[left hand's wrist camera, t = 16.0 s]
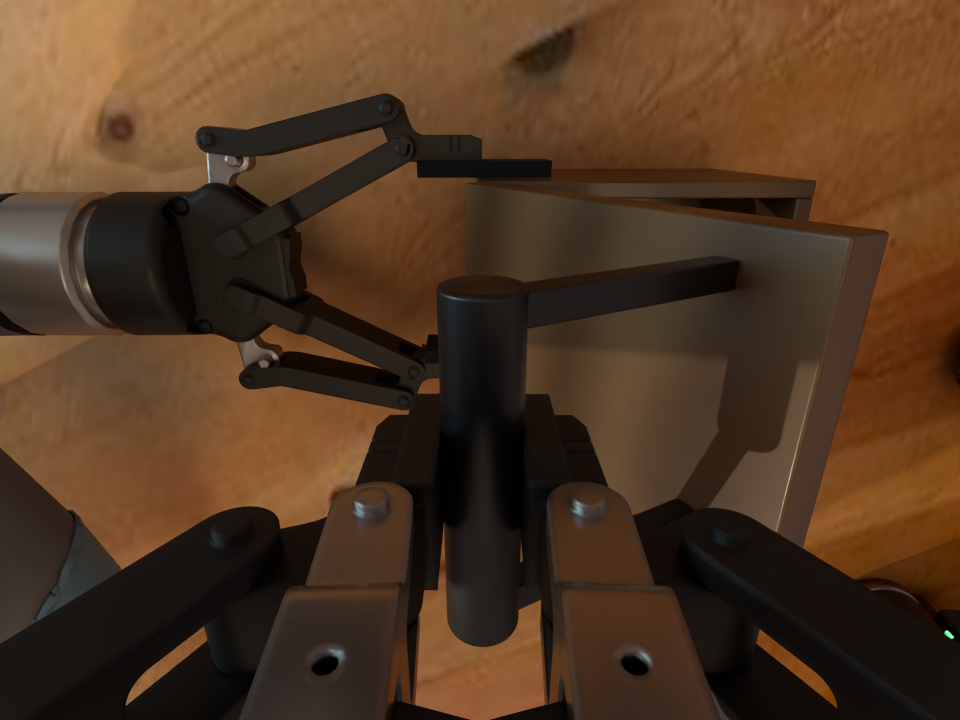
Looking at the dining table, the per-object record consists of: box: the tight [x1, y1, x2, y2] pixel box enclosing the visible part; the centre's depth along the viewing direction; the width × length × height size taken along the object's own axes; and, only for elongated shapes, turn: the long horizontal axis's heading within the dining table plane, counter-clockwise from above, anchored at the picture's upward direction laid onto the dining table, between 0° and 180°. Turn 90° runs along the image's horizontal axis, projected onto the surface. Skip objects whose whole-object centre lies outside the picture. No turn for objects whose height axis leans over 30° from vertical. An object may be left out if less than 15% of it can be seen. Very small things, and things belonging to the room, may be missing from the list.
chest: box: [476, 169, 816, 221], centre depth 30 cm, size 15×9×11 cm, turn 90°
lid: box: [437, 182, 889, 647], centre depth 17 cm, size 16×9×8 cm
